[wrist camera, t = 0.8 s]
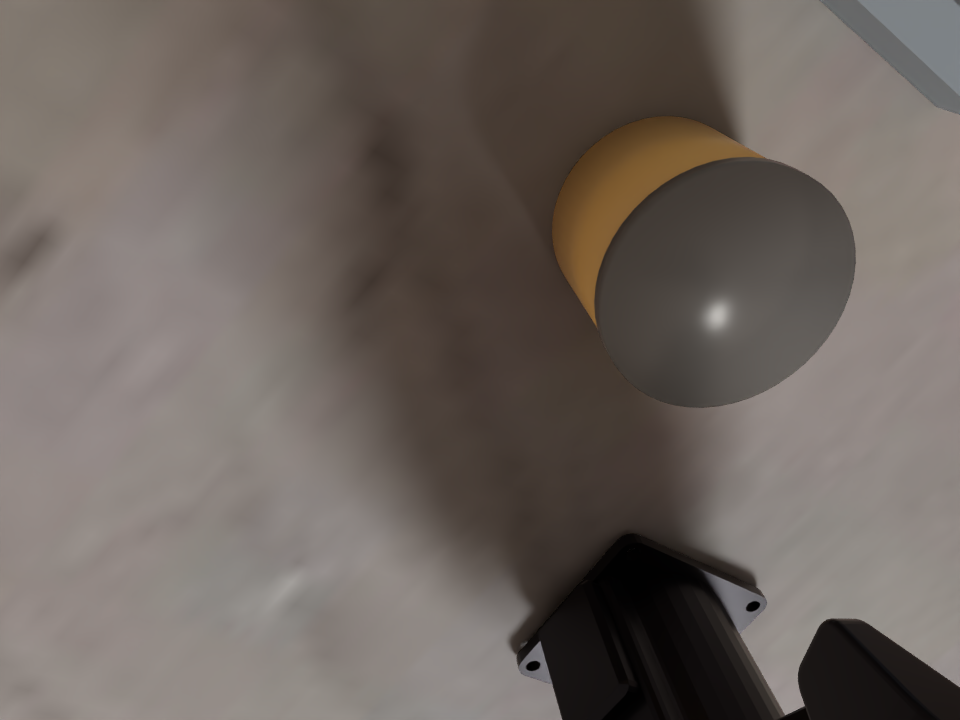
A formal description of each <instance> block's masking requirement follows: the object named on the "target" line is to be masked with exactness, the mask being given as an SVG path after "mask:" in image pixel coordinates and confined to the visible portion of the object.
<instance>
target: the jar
mask: <svg viewBox="0 0 960 720" xmlns="http://www.w3.org/2000/svg"><path fill="white" fill-rule="evenodd" d="M552 238H553V247H554V251H555V256H556V259H557V262H558V264H559V267H560V269H561V271H562V273H563V274H564V276H565V278H566V279H567V281H568V283H569V284H570V286H571V287H572V289H573V290H574V292H575V294H576V295H577V297H578V298H579V300H580V301H581V303H582V305H583V306H584V308H585V309H586V311H587V312H588V314H589V316H590V317H591V319H592V320H593V322H594V323H595V325H596V327H597V328H598V332H599V335H600V338H601V340H602V343H603V345H604V347H605V349H606V351H607V352H608V354H609V356H610V357H611V359H612V361H613V362H614V364H615V365H616V367H617V369H618V370H619V371H620V372H621V373H622V375H623V376H624V377H625V378H626V379H627V380H628V381H629V382H630V383H631V384H632V385H633V386H634V387H636V388H637V389H638V390H640V391H642V392H643V393H645V394H646V395H648V396H650V397H652V398H654V399H657V400H659V401H662V402H665V403H668V404H672V405H677V406H683V407H698V408H704V407H715V406H722V405H727V404H732V403H735V402H739V401H742V400H745V399H748V398H751V397H753V396H755V395H758V394H760V393H762V392H764V391H766V390H768V389H770V388H772V387H773V386H775V385H777V384H779V383H780V382H782V381H783V380H784V379H786V378H787V377H789V376H790V375H792V374H793V373H794V372H795V371H797V370H798V369H799V368H800V367H801V366H803V365H804V364H805V363H806V362H807V361H808V360H809V359H810V358H811V357H812V356H813V355H814V354H815V353H816V352H817V351H818V349H819V348H820V347H821V346H822V344H823V343H824V342H825V341H826V339H827V338H828V337H829V335H830V334H831V332H832V330H833V329H834V327H835V326H836V324H837V322H838V320H839V318H840V317H841V315H842V313H843V311H844V308H845V306H846V303H847V301H848V298H849V295H850V292H851V288H852V284H853V280H854V272H855V264H856V257H855V243H854V236H853V232H852V229H851V226H850V223H849V220H848V217H847V216H846V214H845V212H844V210H843V208H842V206H841V205H840V203H839V202H838V201H837V199H836V198H835V197H834V195H833V194H832V193H831V192H830V191H829V190H827V189H826V188H825V187H824V186H823V185H822V184H821V183H819V182H818V181H816V180H814V179H813V178H811V177H810V176H808V175H806V174H805V173H803V172H801V171H799V170H797V169H795V168H793V167H791V166H788V165H786V164H784V163H781V162H778V161H774V160H770V159H766V158H765V157H763V156H761V155H759V154H757V153H756V152H754V151H752V150H750V149H749V148H747V147H745V146H743V145H741V144H740V143H738V142H736V141H734V140H733V139H731V138H729V137H727V136H725V135H724V134H722V133H720V132H718V131H716V130H715V129H713V128H711V127H709V126H707V125H705V124H703V123H701V122H698V121H696V120H692V119H688V118H684V117H675V116H658V117H651V118H646V119H641V120H638V121H635V122H632V123H629V124H627V125H625V126H622V127H620V128H618V129H616V130H614V131H613V132H611V133H609V134H608V135H606V136H605V137H603V138H602V139H601V140H599V141H598V142H597V143H596V144H594V145H593V146H592V147H591V148H590V149H589V150H588V151H587V152H586V153H585V154H584V155H583V156H582V157H581V158H580V159H579V161H578V162H577V163H576V165H575V166H574V167H573V168H572V170H571V172H570V173H569V175H568V177H567V178H566V180H565V182H564V184H563V186H562V188H561V191H560V193H559V196H558V199H557V202H556V205H555V210H554V215H553V223H552Z"/></svg>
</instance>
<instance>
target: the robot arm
mask: <svg viewBox="0 0 960 720" xmlns="http://www.w3.org/2000/svg"><path fill="white" fill-rule="evenodd" d="M633 548H635V549H634V550H632V551H629V550H630V549H633ZM627 551H629V552H627ZM766 605H767V601H766V598H765V597H764V595H763V594H762V592H761V591H760V590H759V589H758V588H756V587H754V586H752V585H749V584H747V583H745V582H743V581H741V580H738V579H736V578H734V577H732V576H729V575H727V574H725V573H723V572H720V571H718V570H716V569H714V568H711V567H709V566H707V565H705V564H702V563H700V562H698V561H696V560H694V559H691V558H689V557H687V556H685V555H682V554H680V553H678V552H676V551H673V550H671V549H669V548H667V547H664V546H662V545H660V544H658V543H655V542H653V541H651V540H649V539H647V538H644V537H642V536H640V535H637V534H627V535H625V536H622V537H621V538H620V539H618V540H617V541H616V542H615V544H614V545H613V546H612V547H611V548H610V549H609V550H608V552H607V553H606V554H605V555H604V556H603V557H602V558H601V560H600V561H599V562H598V563H597V564H596V565H595V566H594V568H593V569H592V570H591V571H590V572H589V573H588V574H587V576H586V577H585V578H584V579H583V580H582V581H581V582H580V583H579V585H578V586H577V587H576V588H575V589H574V590H573V591H572V593H571V594H570V595H569V596H568V597H567V598H566V599H565V601H564V602H563V603H562V604H561V605H560V606H559V607H558V609H557V610H556V611H555V612H554V613H553V614H552V615H551V617H550V618H549V619H548V620H547V621H546V622H545V623H544V625H543V626H542V627H541V628H540V629H539V630H538V631H537V633H536V634H535V635H534V636H533V637H532V638H531V639H530V641H529V642H528V643H527V644H526V645H525V646H524V647H523V649H522V650H521V651H520V652H519V653H518V655H517V664H518V668H519V671H520V672H521V674H523V675H525V676H528V677H531V678H534V679H537V680H540V681H543V682H546V683H549V684H552V685H553V688H554V692H555V696H556V699H557V703H558V706H559V710H560V713H561V717H562V720H960V687H958V686H957V685H956V684H954V683H953V682H951V681H950V680H948V679H947V678H945V677H944V676H943V675H941V674H940V673H938V672H937V671H935V670H934V669H932V668H931V667H930V666H928V665H927V664H925V663H924V662H922V661H921V660H919V659H918V658H917V657H915V656H914V655H912V654H911V653H909V652H908V651H906V650H905V649H904V648H902V647H901V646H899V645H898V644H896V643H895V642H894V641H892V640H891V639H889V638H888V637H886V636H885V635H883V634H882V633H881V632H879V631H878V630H876V629H875V628H873V627H872V626H870V625H869V624H867V623H866V622H864V621H862V620H858V619H827V620H826V621H824V622H823V623H822V624H821V625H820V626H819V628H818V630H817V632H816V634H815V636H814V638H813V640H812V642H811V644H810V646H809V648H808V650H807V652H806V654H805V656H804V658H803V660H802V662H801V664H800V667H799V672H798V683H799V689H800V693H801V696H802V698H803V701H804V704H805V706H804V707H802V708H800V709H798V710H796V711H794V712H792V713H790V714H787V715H785V714H784V712H783V711H782V709H781V707H780V705H779V703H778V702H777V700H776V698H775V696H774V695H773V693H772V691H771V689H770V688H769V686H768V684H767V682H766V680H765V679H764V677H763V675H762V673H761V672H760V670H759V668H758V666H757V664H756V663H755V661H754V659H753V657H752V656H751V654H750V652H749V650H748V648H747V647H746V645H745V643H744V641H743V640H742V638H741V636H740V633H741V632H742V631H743V630H744V629H745V628H746V627H747V626H748V625H749V624H750V623H751V622H752V621H753V620H754V619H755V618H756V617H757V616H758V615H759V614H760V613H761V612H762V611H763V610H764V609H765V607H766Z"/></svg>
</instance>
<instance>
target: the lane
mask: <svg viewBox="0 0 960 720" xmlns="http://www.w3.org/2000/svg"><path fill="white" fill-rule="evenodd" d="M820 1H821V2H822V3H823V4H824V5H825V6H827V7H828V8H829V9H830V10H831V11H832V12H833V13H834V14H835V15H836V16H838V17H839V18H840V19H841V20H842V21H843V22H844V23H845V24H846V25H847V26H849V27H850V28H851V29H852V30H853V31H854V32H855V33H856V34H857V35H858V36H860V37H861V38H862V39H863V40H864V41H865V42H866V43H867V44H868V45H869V46H870V47H872V48H873V49H874V50H875V51H876V52H877V53H878V54H879V55H880V56H881V57H883V58H884V59H885V60H886V61H887V62H888V63H889V64H890V65H891V66H892V67H894V68H895V69H896V70H897V71H898V72H899V73H900V74H901V75H902V76H903V77H905V78H906V79H907V80H908V81H909V82H910V83H911V84H912V85H913V86H914V87H915V88H917V89H918V90H919V91H920V92H921V93H922V94H923V95H924V96H925V97H926V98H928V99H929V100H930V101H931V102H932V103H933V104H934V105H935V106H936V107H938V108H941V109H944V110H947V111H950V112H954V113H957V114H960V0H820Z"/></svg>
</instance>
